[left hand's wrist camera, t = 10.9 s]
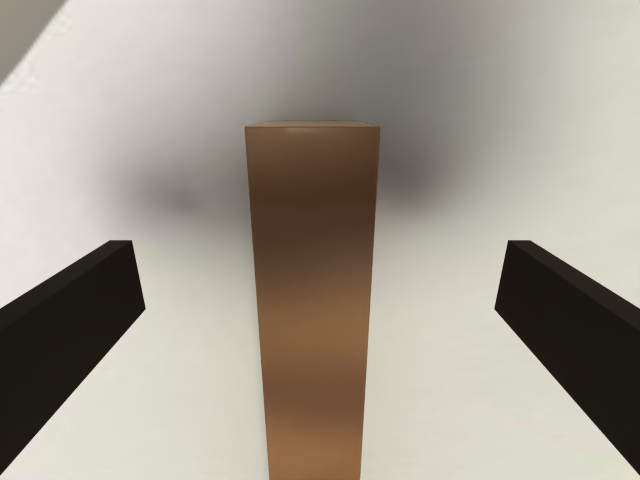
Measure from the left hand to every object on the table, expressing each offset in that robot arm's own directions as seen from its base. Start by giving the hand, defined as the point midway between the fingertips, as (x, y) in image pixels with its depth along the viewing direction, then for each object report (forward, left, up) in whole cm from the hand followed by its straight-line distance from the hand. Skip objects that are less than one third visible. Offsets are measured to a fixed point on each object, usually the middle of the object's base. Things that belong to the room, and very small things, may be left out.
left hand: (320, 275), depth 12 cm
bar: (+24, +26, -10) cm, 37 cm away
